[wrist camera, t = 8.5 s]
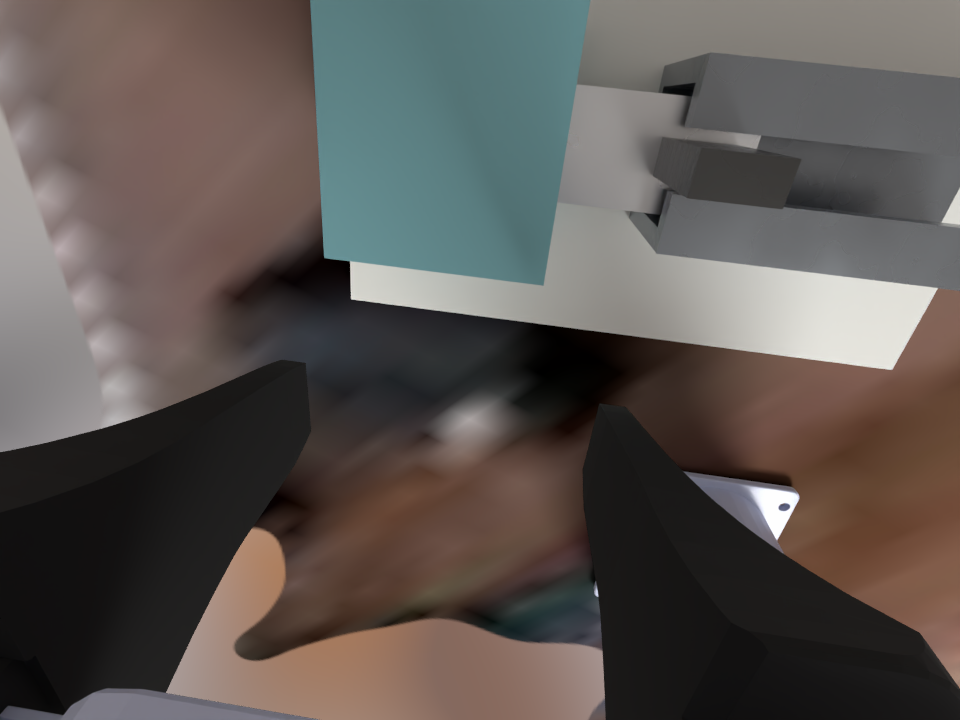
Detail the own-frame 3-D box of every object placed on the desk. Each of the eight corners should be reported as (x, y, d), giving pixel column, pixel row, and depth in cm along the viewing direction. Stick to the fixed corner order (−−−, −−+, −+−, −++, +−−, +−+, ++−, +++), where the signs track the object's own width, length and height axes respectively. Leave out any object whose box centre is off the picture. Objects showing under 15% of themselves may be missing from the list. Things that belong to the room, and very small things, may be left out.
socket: (542, 237, 19) (543, 285, 14) (379, 217, 19) (324, 257, 14) (576, 14, 15) (594, -26, 11) (378, -5, 16) (306, -54, 11)
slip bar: (701, 203, 17) (788, 258, 11) (410, 170, 17) (345, 204, 11) (730, 104, 15) (849, 105, 9) (413, 70, 16) (340, 51, 10)
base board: (877, 358, 20) (892, 369, 20) (358, 291, 22) (351, 299, 21) (1112, -79, 14) (1150, -91, 13) (349, -145, 15) (337, -160, 14)
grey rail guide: (911, 251, 18) (1030, 299, 13) (628, 218, 18) (656, 253, 14) (990, 99, 15) (1163, 98, 11) (664, 65, 16) (711, 52, 12)
